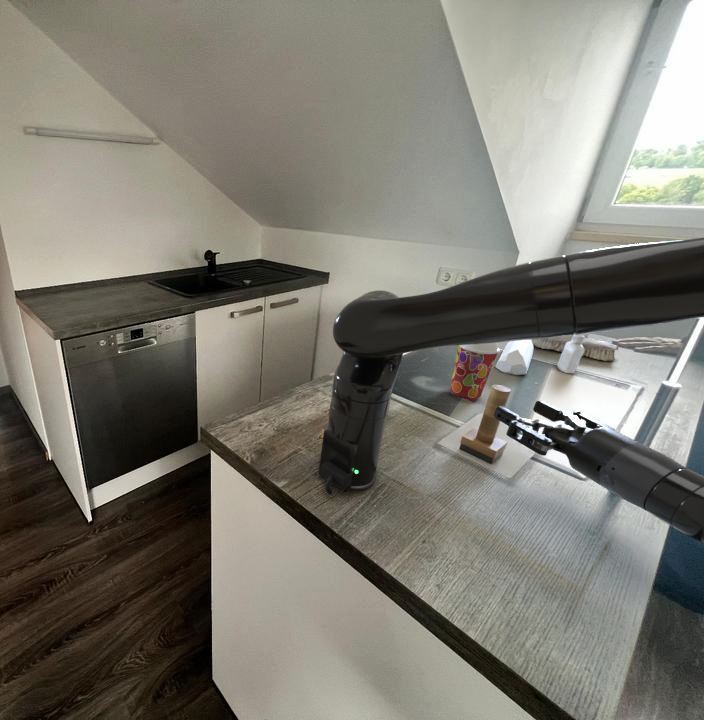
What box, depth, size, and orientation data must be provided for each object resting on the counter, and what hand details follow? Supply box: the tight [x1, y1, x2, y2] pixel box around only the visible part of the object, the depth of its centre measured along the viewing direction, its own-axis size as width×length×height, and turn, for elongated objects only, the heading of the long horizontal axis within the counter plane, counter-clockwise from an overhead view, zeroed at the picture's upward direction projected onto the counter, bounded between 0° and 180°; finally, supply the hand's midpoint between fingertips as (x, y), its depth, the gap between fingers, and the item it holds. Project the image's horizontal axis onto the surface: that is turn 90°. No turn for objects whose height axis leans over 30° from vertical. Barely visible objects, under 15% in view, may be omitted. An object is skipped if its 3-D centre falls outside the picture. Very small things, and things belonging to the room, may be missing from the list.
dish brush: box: [459, 384, 512, 464], centre depth 72 cm, size 5×6×14 cm
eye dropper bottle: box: [556, 334, 584, 374], centre depth 110 cm, size 4×6×12 cm
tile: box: [436, 412, 537, 480], centre depth 79 cm, size 20×13×1 cm, turn 126°
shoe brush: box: [531, 336, 619, 362], centre depth 125 cm, size 24×8×5 cm, turn 52°
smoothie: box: [449, 342, 500, 402], centre depth 94 cm, size 8×8×20 cm
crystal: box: [494, 340, 535, 376], centre depth 117 cm, size 7×7×24 cm
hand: (516, 408), depth 67 cm, fingers open, 8 cm apart
